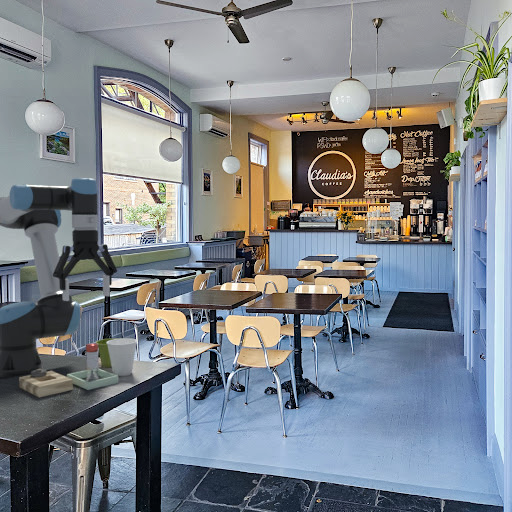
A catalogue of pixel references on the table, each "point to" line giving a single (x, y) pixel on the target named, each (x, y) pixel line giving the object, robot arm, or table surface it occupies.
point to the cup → (122, 355)
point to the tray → (107, 380)
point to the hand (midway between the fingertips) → (86, 298)
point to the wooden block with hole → (45, 383)
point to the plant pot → (104, 352)
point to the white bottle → (92, 362)
